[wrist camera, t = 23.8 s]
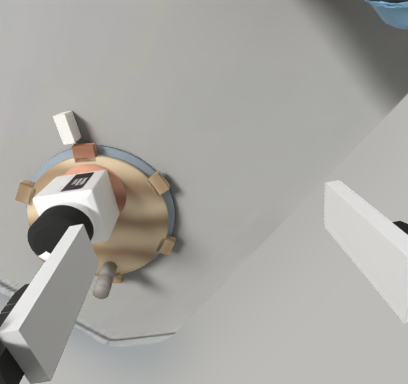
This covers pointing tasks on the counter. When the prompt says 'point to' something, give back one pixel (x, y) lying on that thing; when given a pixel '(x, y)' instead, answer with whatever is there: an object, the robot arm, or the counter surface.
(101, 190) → the container
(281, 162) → the counter surface
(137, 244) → the index wheel
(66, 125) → the wheel base
